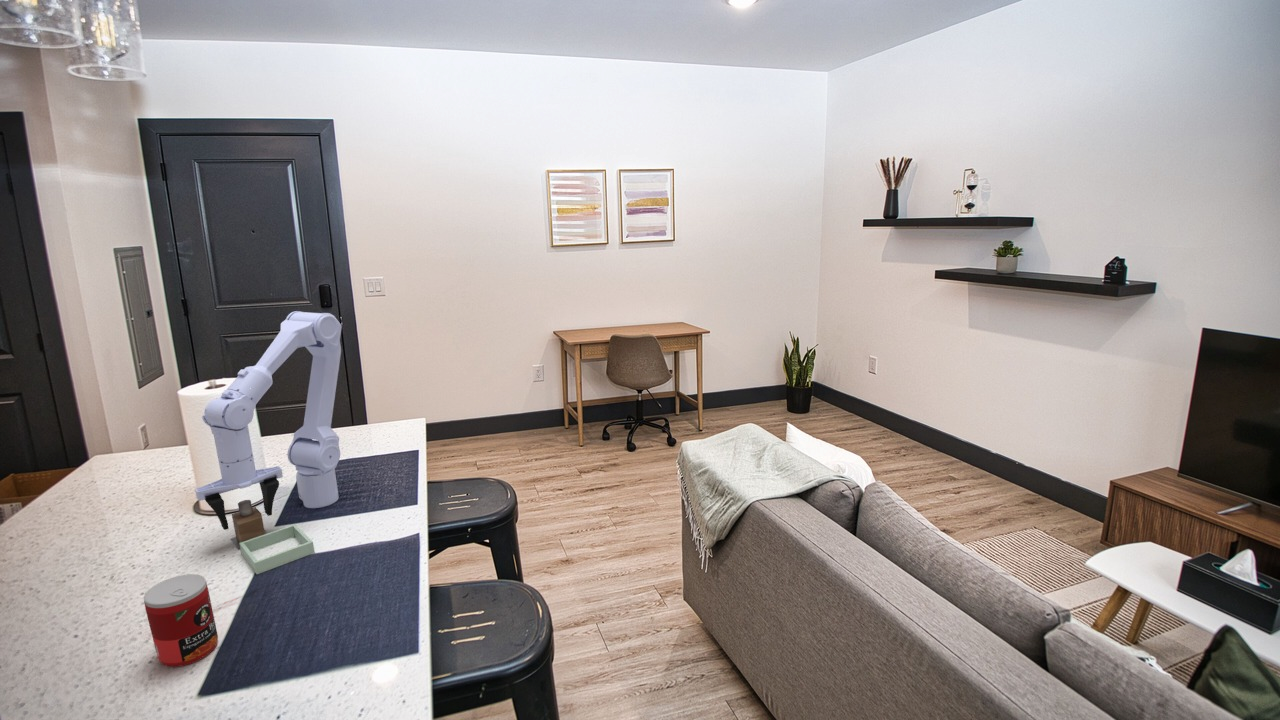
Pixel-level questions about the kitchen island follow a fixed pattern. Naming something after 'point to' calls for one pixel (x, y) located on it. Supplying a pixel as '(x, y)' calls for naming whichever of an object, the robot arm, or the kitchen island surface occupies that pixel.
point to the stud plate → (238, 541)
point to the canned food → (181, 619)
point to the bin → (280, 557)
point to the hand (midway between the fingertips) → (247, 520)
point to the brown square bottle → (247, 522)
